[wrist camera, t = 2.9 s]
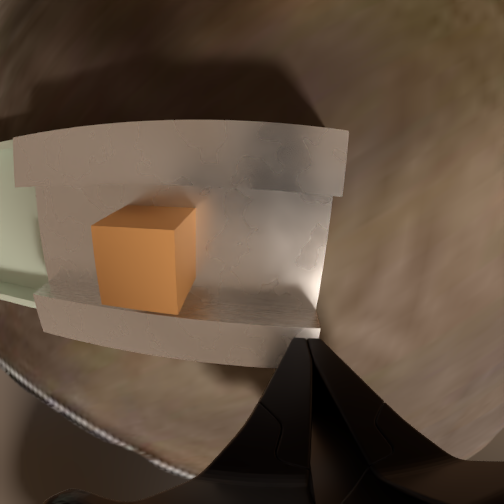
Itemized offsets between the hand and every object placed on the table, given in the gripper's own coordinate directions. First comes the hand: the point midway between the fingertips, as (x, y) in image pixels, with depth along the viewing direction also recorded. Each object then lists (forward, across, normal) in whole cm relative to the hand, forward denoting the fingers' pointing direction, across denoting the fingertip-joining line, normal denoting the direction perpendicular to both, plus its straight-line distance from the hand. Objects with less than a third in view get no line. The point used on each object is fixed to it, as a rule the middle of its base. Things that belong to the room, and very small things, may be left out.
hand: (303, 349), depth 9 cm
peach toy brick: (+8, +7, 0) cm, 11 cm away
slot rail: (+11, +7, 0) cm, 13 cm away
